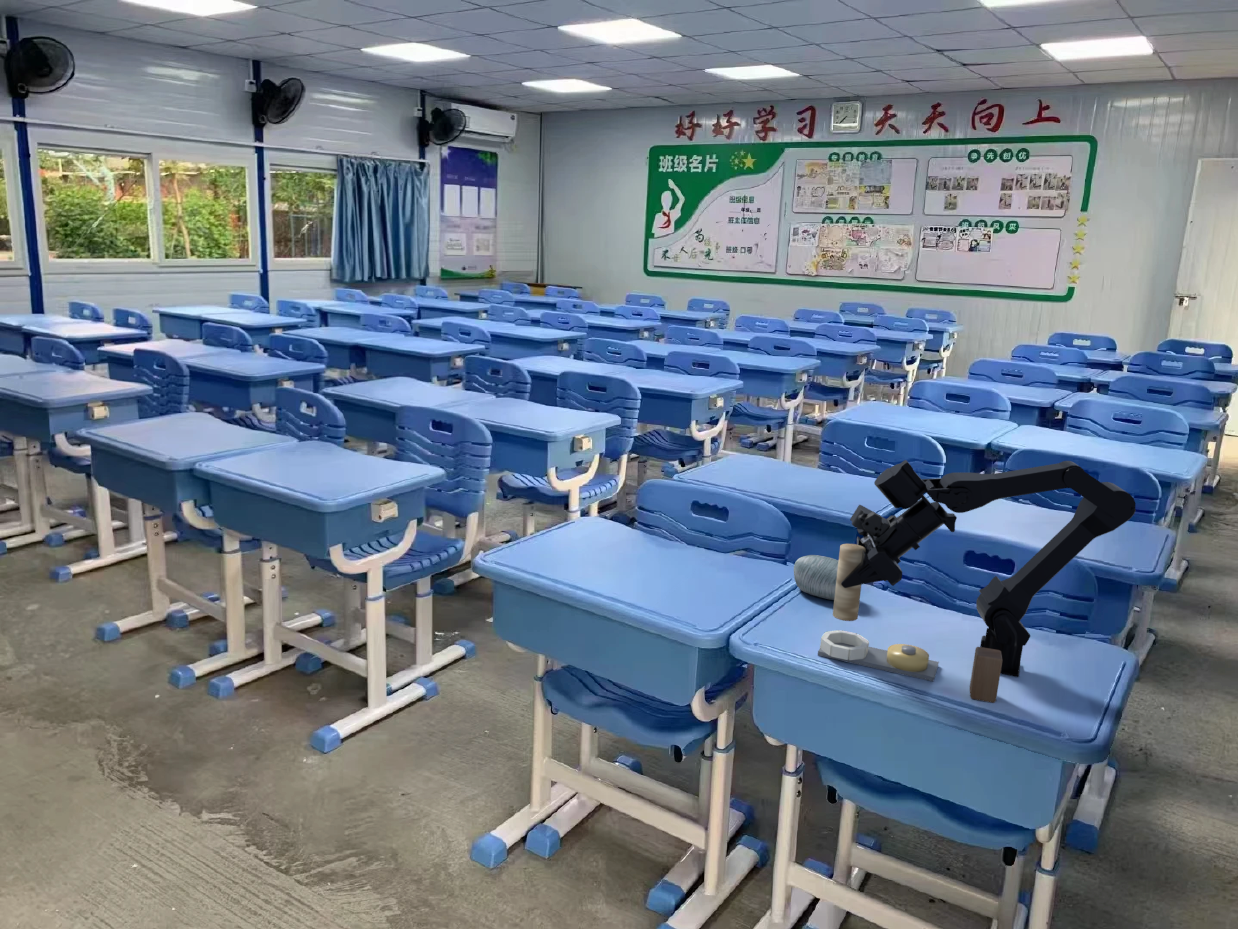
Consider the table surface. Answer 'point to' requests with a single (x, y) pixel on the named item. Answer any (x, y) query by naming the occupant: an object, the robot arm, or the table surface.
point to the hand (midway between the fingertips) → (841, 581)
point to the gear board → (878, 655)
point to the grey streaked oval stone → (816, 575)
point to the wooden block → (985, 674)
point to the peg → (848, 597)
